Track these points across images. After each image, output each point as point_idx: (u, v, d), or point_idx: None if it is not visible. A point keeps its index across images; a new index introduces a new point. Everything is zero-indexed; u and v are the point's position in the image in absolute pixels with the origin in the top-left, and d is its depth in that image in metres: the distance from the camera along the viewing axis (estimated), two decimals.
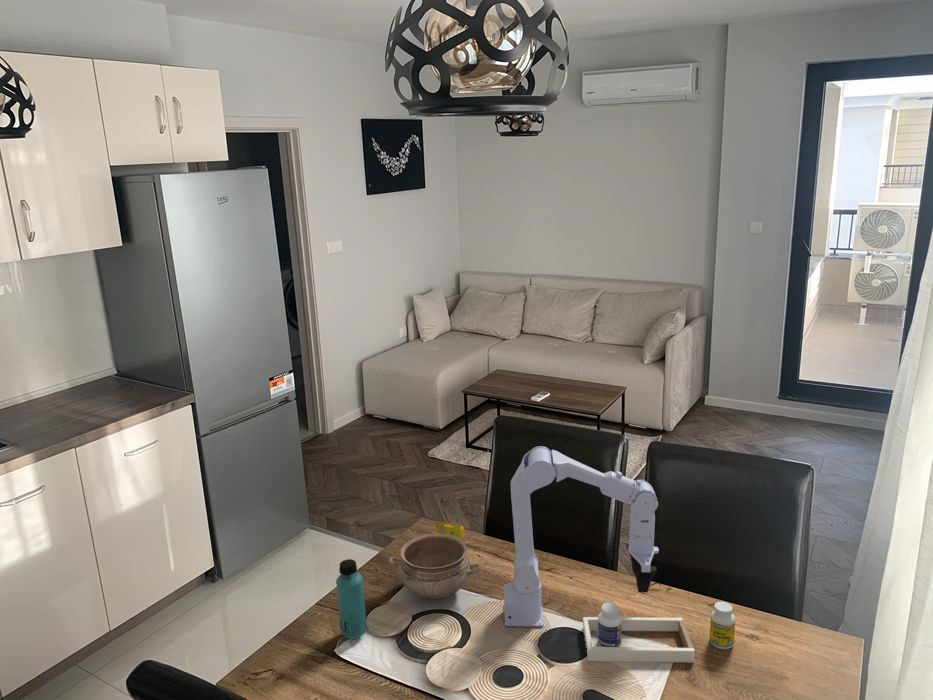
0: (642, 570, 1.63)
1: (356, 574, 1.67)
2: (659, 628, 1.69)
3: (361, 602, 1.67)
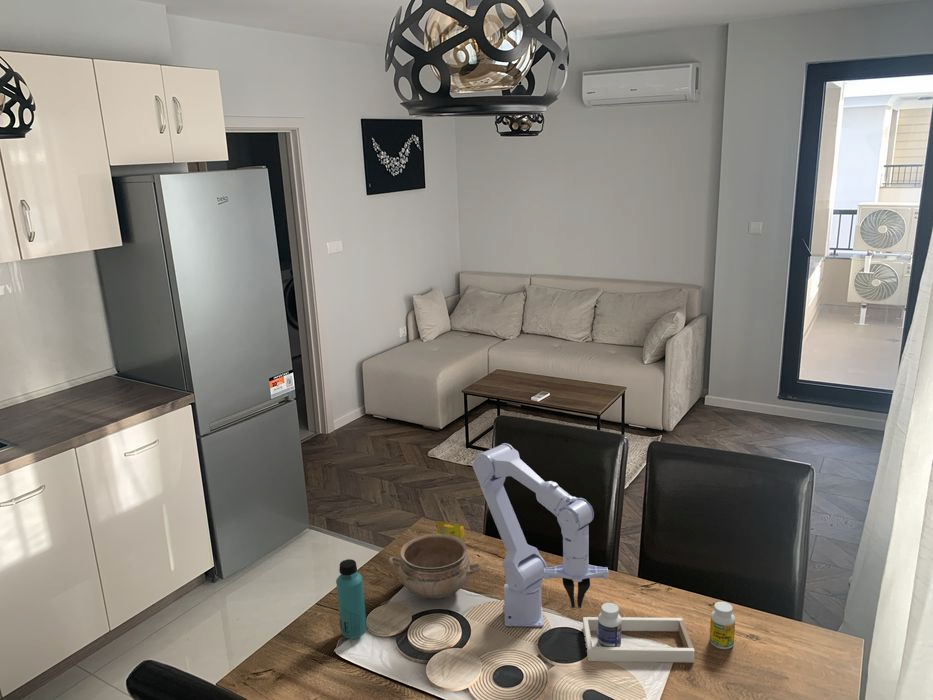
0: None
1: (356, 574, 1.67)
2: (659, 628, 1.69)
3: (361, 602, 1.67)
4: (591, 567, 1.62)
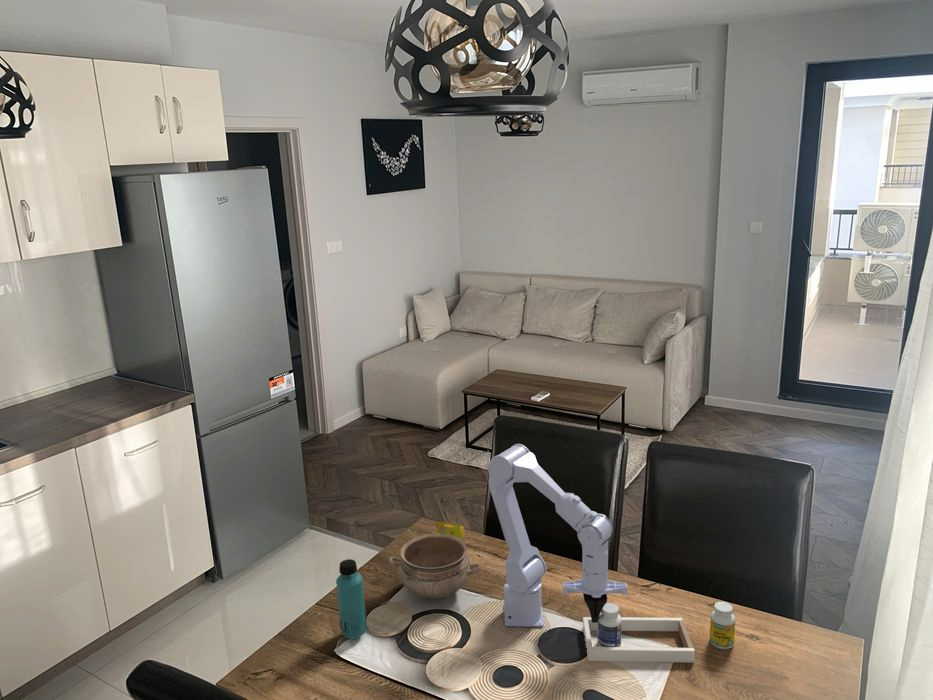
0: None
1: (356, 574, 1.67)
2: (659, 628, 1.69)
3: (361, 602, 1.67)
4: (610, 582, 1.63)
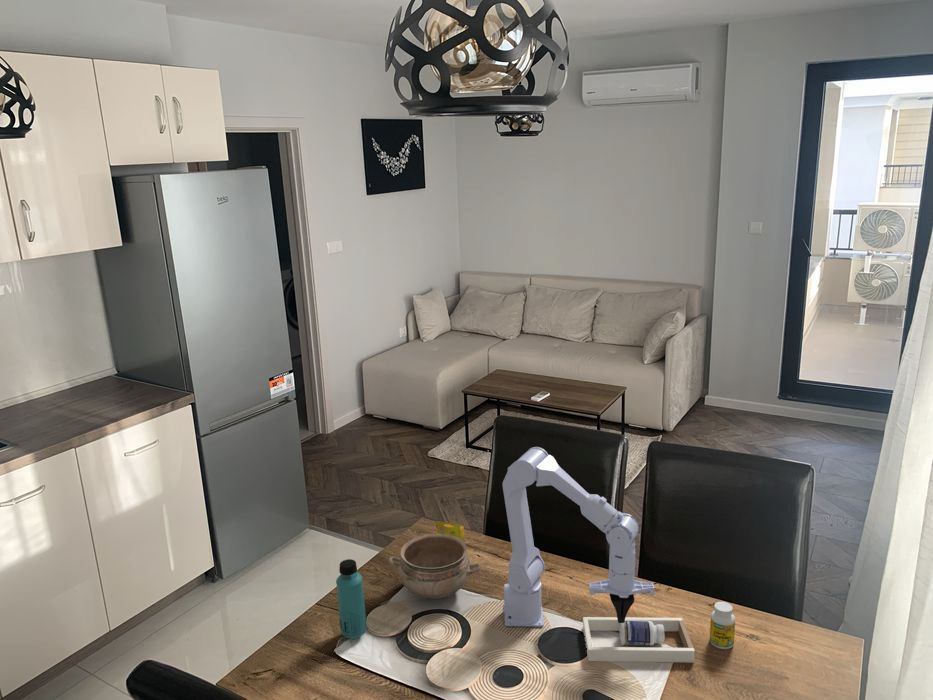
0: None
1: (356, 574, 1.67)
2: None
3: (361, 602, 1.67)
4: (636, 582, 1.62)
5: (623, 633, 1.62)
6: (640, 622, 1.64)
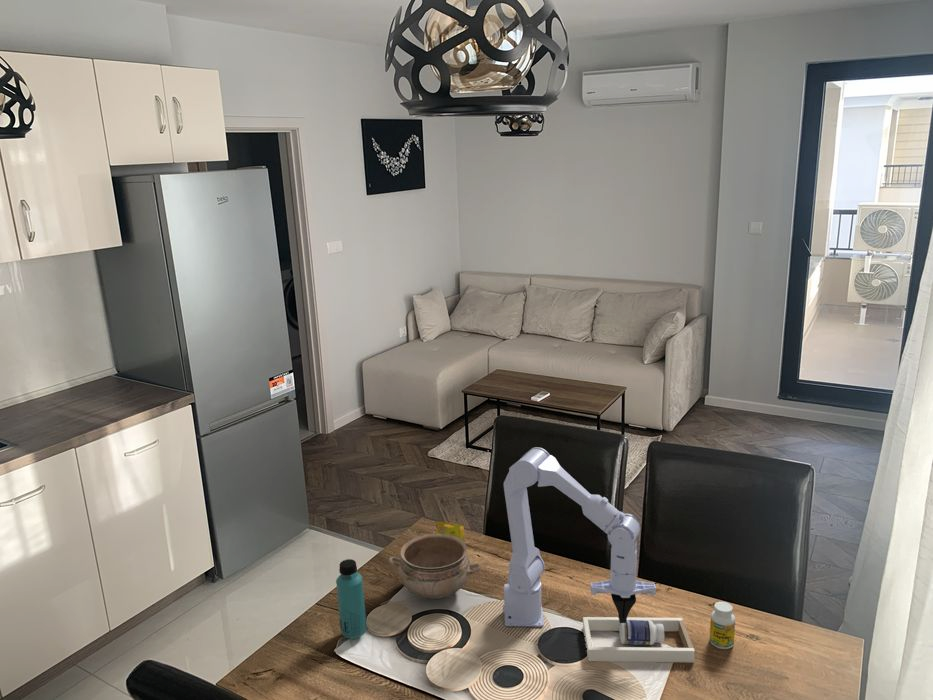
0: None
1: (356, 574, 1.67)
2: None
3: (361, 602, 1.67)
4: (638, 583, 1.62)
5: (623, 631, 1.63)
6: (640, 621, 1.64)
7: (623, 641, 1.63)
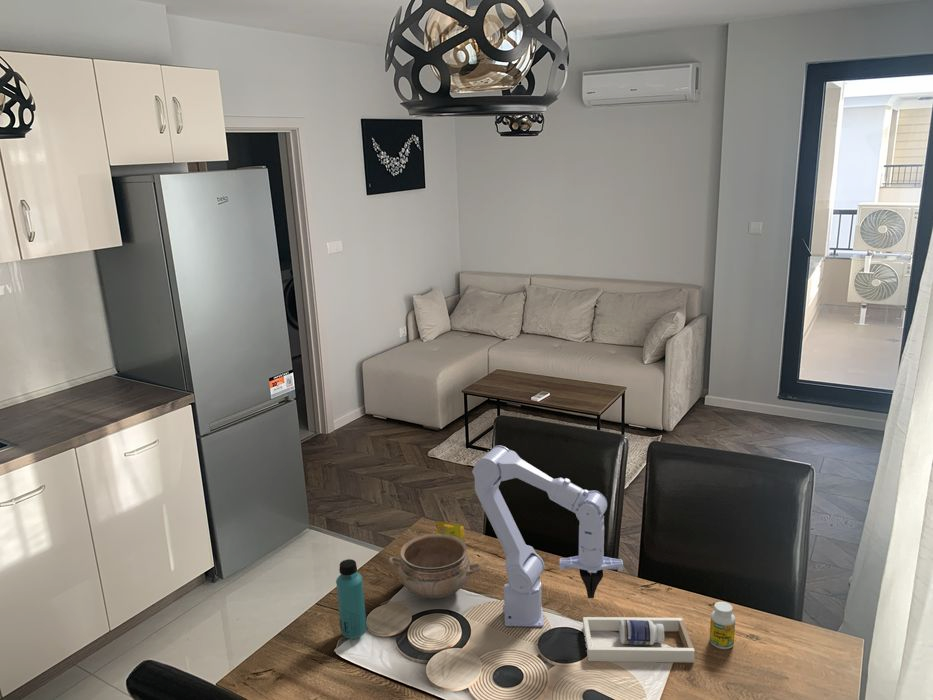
0: None
1: (356, 574, 1.67)
2: None
3: (361, 602, 1.67)
4: (606, 559, 1.65)
5: (623, 631, 1.63)
6: (640, 621, 1.64)
7: (623, 641, 1.63)
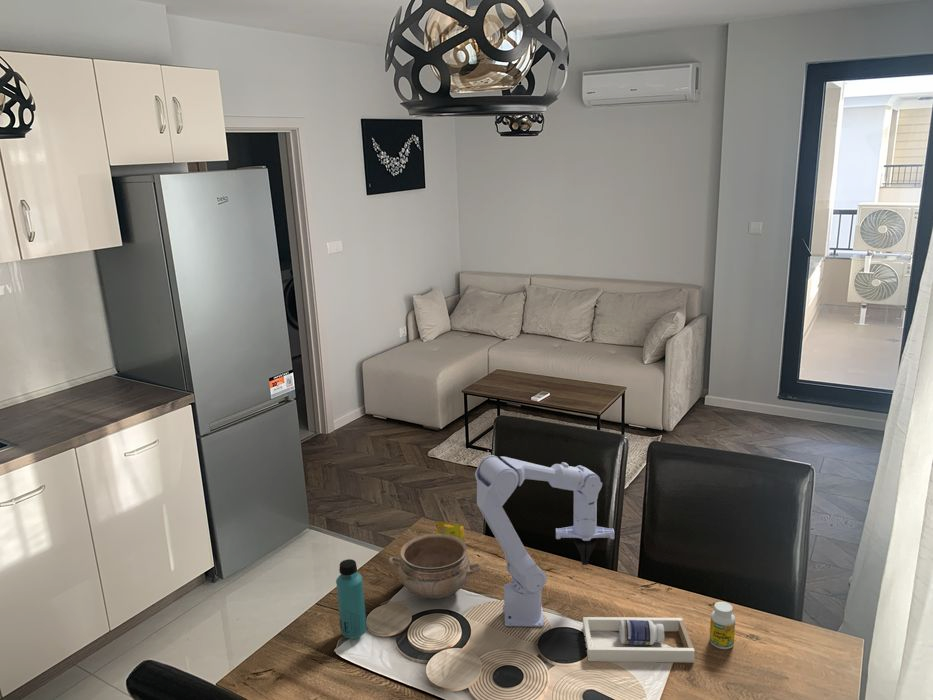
0: None
1: (356, 574, 1.67)
2: None
3: (361, 602, 1.67)
4: (598, 528, 1.79)
5: (623, 631, 1.63)
6: (640, 621, 1.64)
7: (623, 641, 1.63)
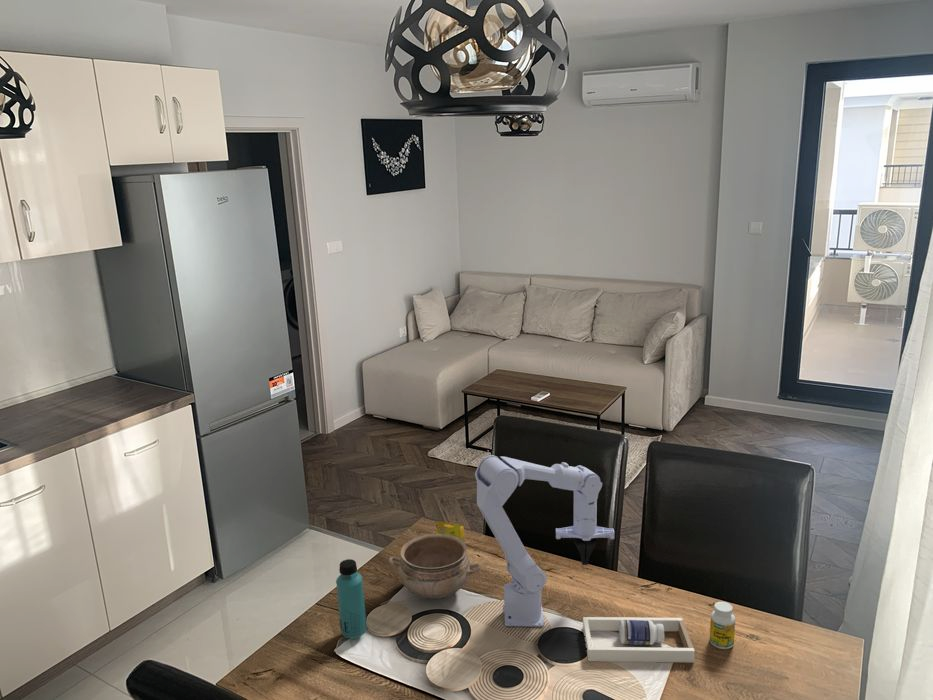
0: None
1: (356, 574, 1.67)
2: None
3: (361, 602, 1.67)
4: (598, 528, 1.79)
5: (623, 631, 1.63)
6: (640, 621, 1.64)
7: (623, 641, 1.63)
